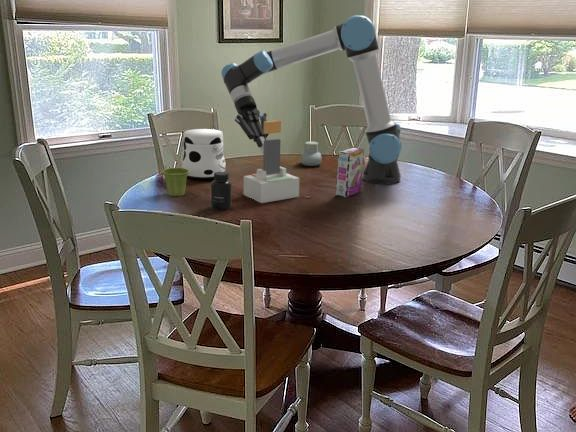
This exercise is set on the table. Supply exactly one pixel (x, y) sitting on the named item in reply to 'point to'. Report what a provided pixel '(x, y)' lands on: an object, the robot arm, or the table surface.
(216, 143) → the white black spotted container
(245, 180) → the switch box
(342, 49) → the robot arm
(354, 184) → the candy bar box
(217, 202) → the supplement bottle
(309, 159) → the air freshener
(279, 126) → the switch lever
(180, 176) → the plant pot
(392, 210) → the table surface
